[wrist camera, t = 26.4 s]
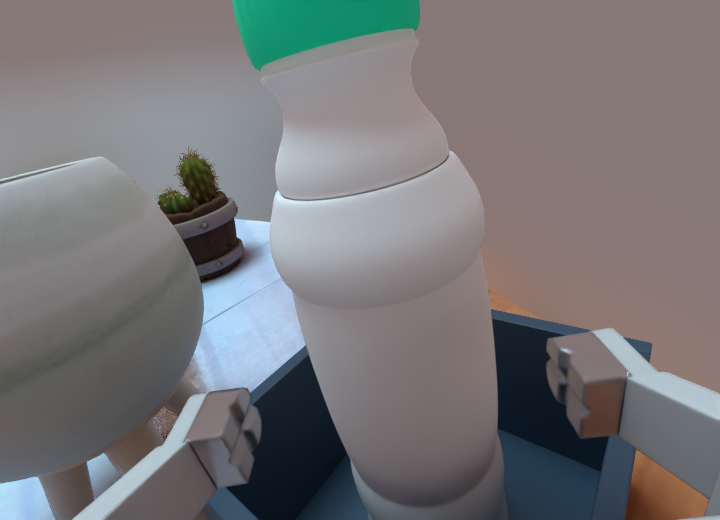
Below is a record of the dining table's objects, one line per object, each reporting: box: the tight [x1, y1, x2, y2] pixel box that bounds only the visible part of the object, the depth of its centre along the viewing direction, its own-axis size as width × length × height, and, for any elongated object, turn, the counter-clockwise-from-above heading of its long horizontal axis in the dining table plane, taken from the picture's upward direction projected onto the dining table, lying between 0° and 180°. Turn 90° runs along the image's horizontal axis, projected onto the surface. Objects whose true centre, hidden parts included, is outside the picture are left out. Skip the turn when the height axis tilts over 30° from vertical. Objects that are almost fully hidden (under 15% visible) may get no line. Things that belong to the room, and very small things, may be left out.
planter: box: [0, 157, 208, 520], centre depth 22 cm, size 16×16×22 cm
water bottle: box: [233, 0, 509, 520], centre depth 14 cm, size 7×7×25 cm
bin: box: [202, 309, 652, 520], centre depth 18 cm, size 16×16×10 cm
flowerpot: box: [157, 151, 244, 281], centre depth 59 cm, size 14×15×20 cm
